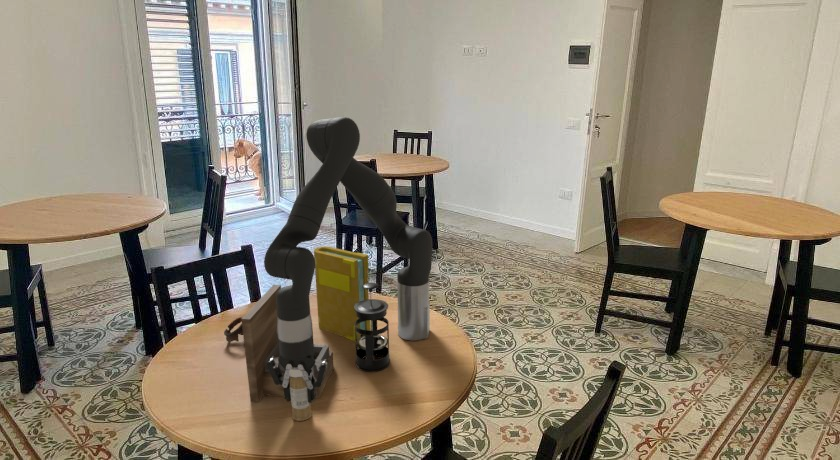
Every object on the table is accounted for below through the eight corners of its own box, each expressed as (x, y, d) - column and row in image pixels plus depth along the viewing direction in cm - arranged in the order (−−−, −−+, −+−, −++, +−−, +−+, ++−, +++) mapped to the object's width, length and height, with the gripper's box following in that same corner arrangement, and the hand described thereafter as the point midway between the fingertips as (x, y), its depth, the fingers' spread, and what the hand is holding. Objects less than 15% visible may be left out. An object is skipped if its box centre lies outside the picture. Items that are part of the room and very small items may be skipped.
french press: (358, 352, 152) (355, 276, 145) (391, 352, 151) (390, 276, 144) (352, 375, 140) (348, 294, 134) (387, 376, 140) (386, 294, 133)
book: (370, 332, 163) (368, 254, 155) (356, 342, 157) (353, 261, 150) (328, 319, 171) (324, 244, 164) (313, 327, 166) (308, 251, 158)
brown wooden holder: (336, 361, 147) (332, 287, 140) (315, 405, 128) (309, 322, 121) (279, 358, 148) (273, 284, 142) (250, 401, 129) (241, 318, 123)
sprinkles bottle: (313, 409, 126) (310, 359, 122) (309, 422, 122) (305, 370, 118) (294, 409, 126) (290, 359, 122) (289, 422, 122) (285, 370, 118)
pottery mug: (259, 350, 154) (241, 330, 150) (233, 360, 157) (215, 341, 153) (271, 322, 164) (255, 303, 160) (247, 331, 167) (230, 313, 163)
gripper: (331, 326, 121) (335, 392, 126) (270, 323, 122) (276, 388, 127) (322, 342, 114) (326, 412, 119) (257, 339, 115) (264, 408, 120)
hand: (300, 399), depth 123 cm, fingers closed on sprinkles bottle, 4 cm apart
